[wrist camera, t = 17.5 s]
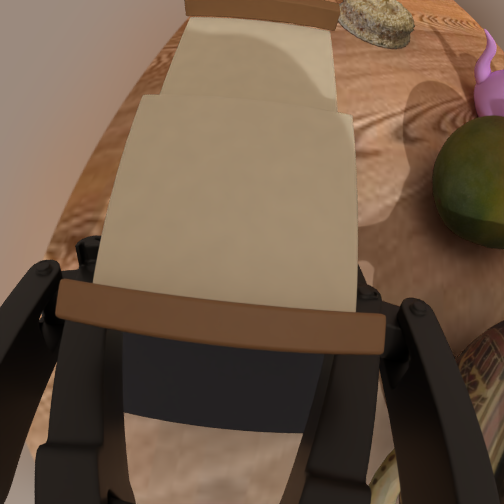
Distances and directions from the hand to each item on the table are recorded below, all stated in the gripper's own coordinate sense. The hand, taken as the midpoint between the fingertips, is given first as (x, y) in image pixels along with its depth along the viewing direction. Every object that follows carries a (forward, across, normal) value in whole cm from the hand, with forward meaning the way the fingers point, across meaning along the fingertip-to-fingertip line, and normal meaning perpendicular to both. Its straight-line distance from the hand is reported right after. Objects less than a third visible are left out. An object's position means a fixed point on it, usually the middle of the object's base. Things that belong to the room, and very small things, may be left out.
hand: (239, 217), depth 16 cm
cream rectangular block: (0, 0, -4) cm, 4 cm away
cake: (+25, +13, +17) cm, 33 cm away
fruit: (+8, +20, 0) cm, 22 cm away
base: (+3, 0, -6) cm, 6 cm away
